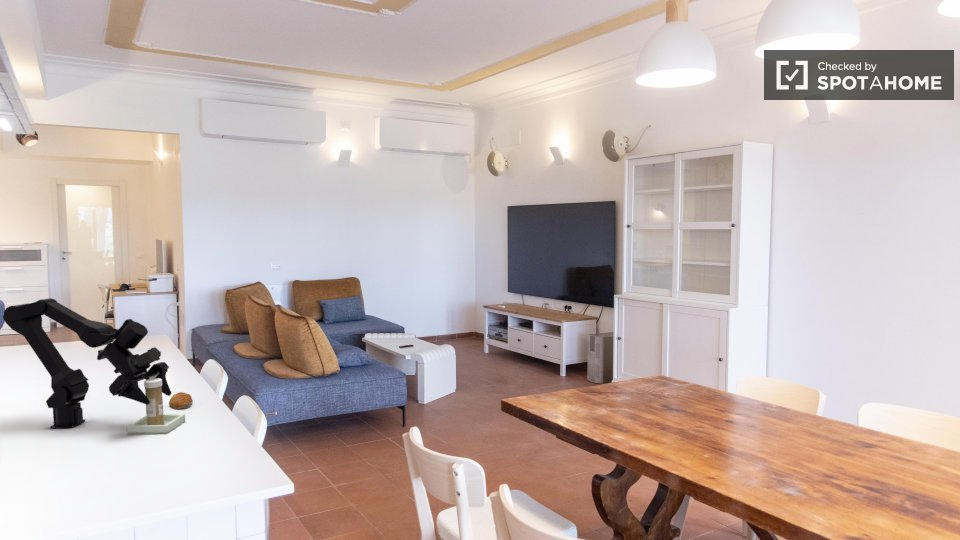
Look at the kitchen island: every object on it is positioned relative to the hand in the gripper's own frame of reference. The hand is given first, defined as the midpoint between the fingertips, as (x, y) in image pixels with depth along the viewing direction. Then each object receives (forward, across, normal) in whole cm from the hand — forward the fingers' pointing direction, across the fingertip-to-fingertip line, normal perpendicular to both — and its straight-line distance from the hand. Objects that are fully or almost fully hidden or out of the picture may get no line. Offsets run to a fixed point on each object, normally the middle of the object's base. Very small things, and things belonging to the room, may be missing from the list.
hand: (159, 399), depth 184 cm
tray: (+5, 0, +7) cm, 9 cm away
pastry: (0, +22, +13) cm, 26 cm away
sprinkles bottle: (+4, 0, +7) cm, 8 cm away
